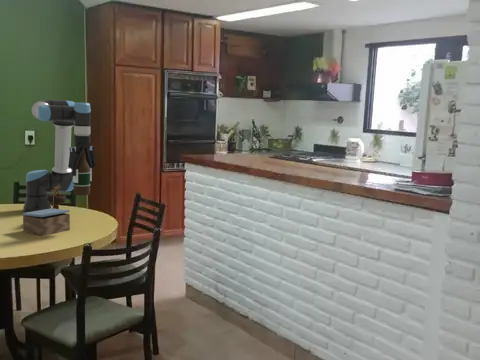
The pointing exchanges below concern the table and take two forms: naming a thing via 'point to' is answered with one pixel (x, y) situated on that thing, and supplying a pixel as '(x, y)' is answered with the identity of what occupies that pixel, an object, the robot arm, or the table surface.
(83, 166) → the beer bottle
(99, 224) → the table surface
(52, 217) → the box
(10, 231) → the table surface
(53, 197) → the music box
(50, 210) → the lid
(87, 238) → the table surface
